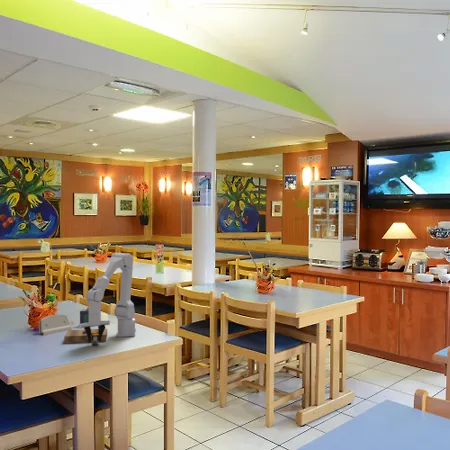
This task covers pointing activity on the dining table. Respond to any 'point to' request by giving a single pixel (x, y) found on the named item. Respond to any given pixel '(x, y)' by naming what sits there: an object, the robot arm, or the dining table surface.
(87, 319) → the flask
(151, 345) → the dining table surface
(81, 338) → the hitch block
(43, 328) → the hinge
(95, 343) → the pin
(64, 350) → the dining table surface
